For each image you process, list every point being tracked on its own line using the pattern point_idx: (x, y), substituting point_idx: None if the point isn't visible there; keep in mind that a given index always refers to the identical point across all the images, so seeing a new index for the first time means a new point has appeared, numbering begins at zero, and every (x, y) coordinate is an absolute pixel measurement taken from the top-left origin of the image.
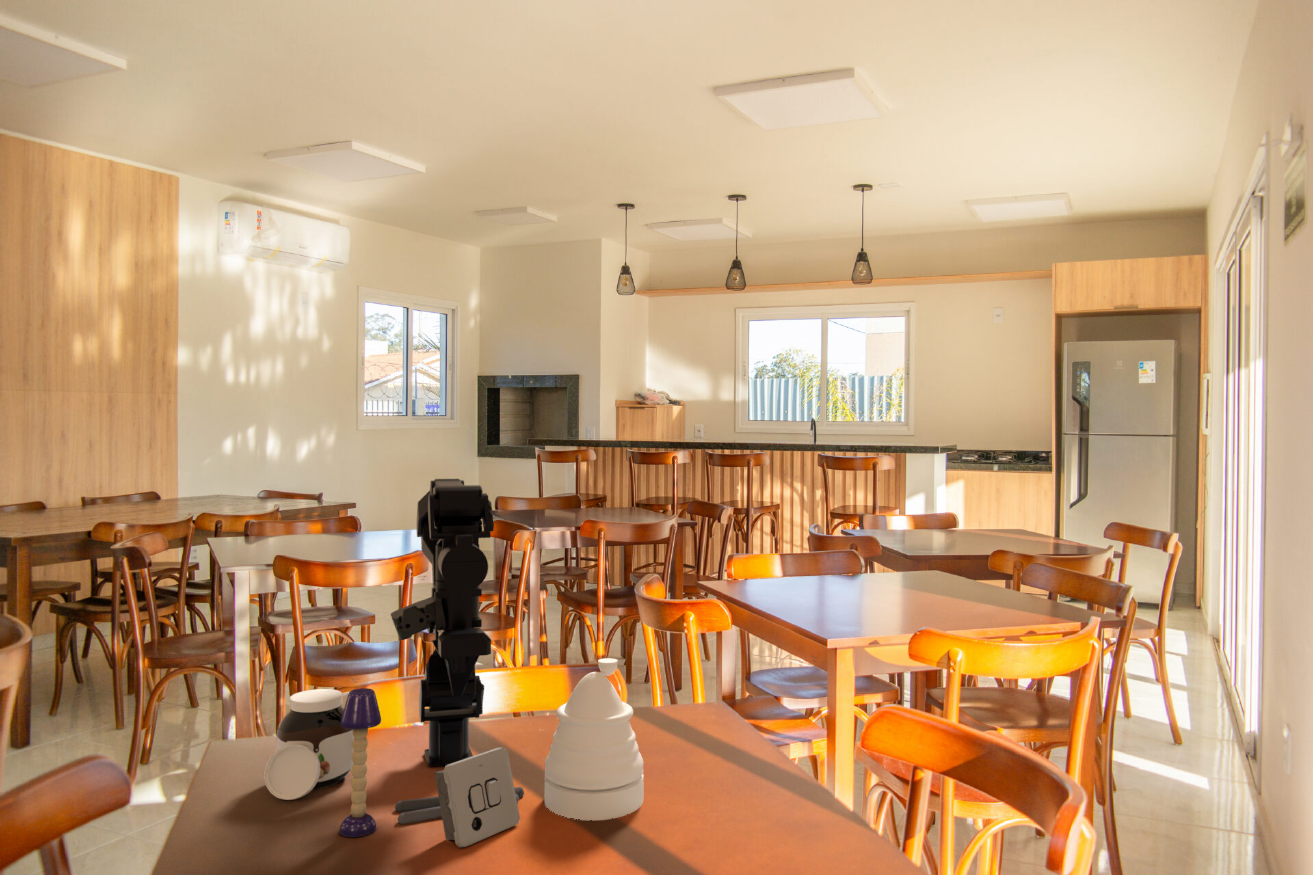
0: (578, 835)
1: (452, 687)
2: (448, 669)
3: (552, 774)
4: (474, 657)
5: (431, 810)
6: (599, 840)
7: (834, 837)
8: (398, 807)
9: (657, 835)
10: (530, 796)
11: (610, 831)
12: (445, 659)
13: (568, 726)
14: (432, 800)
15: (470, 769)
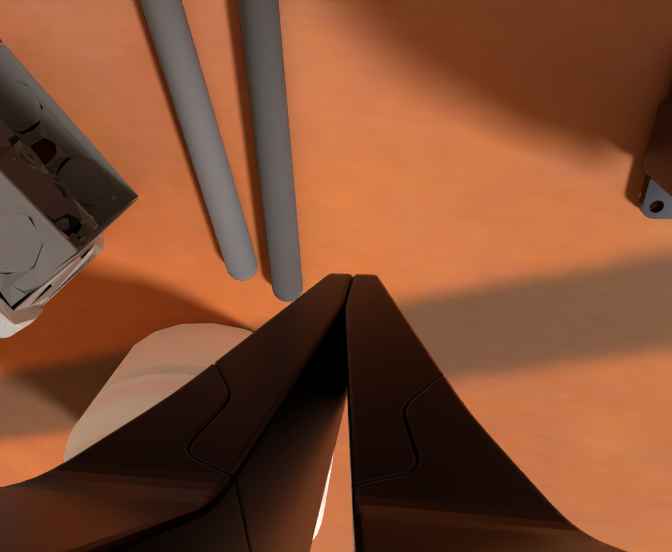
0: (40, 342)
1: (288, 305)
2: (235, 392)
3: (124, 391)
4: None
5: (145, 8)
6: (17, 368)
7: None
8: None
9: (43, 450)
10: (279, 306)
11: (60, 395)
12: (427, 464)
13: None
14: (243, 19)
15: None
